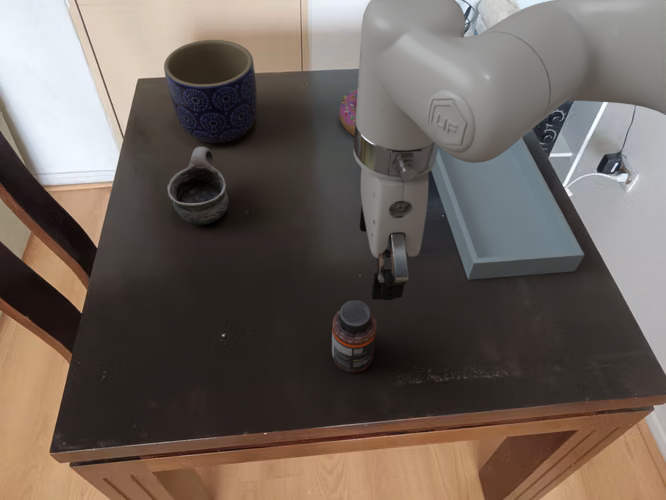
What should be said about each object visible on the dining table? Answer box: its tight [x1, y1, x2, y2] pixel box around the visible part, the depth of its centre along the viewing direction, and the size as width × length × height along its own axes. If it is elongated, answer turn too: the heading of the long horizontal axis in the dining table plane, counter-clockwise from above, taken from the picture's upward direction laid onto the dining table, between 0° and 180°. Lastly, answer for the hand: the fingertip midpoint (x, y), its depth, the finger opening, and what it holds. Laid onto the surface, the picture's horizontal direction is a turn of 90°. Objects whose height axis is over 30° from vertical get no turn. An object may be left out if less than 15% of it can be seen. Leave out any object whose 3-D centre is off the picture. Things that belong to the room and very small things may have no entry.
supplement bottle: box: [331, 299, 378, 374], centre depth 73 cm, size 6×6×11 cm
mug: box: [167, 146, 229, 226], centre depth 92 cm, size 10×12×10 cm
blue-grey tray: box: [430, 137, 585, 281], centre depth 96 cm, size 34×18×4 cm, turn 6°
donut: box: [338, 89, 358, 137], centre depth 111 cm, size 14×14×5 cm
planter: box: [163, 39, 258, 144], centre depth 105 cm, size 16×17×15 cm
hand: (379, 261), depth 60 cm, fingers open, 9 cm apart
